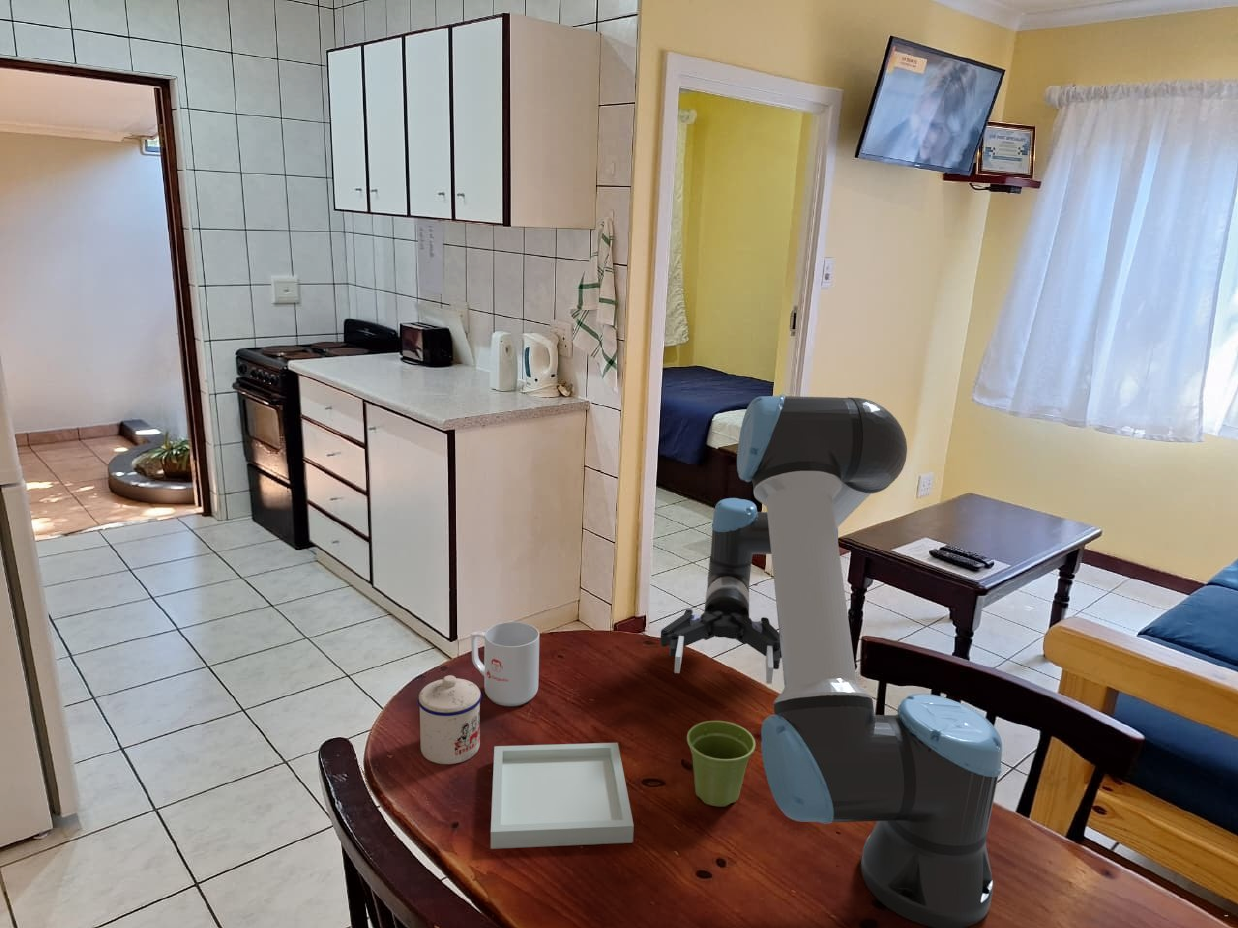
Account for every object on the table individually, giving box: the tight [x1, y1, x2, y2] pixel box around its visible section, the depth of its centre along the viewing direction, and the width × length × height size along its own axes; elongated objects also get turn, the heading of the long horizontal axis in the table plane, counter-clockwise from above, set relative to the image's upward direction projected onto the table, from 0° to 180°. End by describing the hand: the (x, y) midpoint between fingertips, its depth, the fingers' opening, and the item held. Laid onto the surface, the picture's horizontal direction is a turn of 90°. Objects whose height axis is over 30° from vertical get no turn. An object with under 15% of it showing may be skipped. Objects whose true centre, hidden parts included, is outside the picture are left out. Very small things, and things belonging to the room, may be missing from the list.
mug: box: [470, 621, 540, 707], centre depth 140 cm, size 12×9×11 cm
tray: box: [490, 742, 635, 850], centre depth 116 cm, size 18×18×2 cm
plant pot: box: [686, 720, 756, 808], centre depth 118 cm, size 9×9×9 cm
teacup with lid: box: [417, 674, 482, 765], centre depth 126 cm, size 12×9×12 cm
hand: (723, 670), depth 125 cm, fingers open, 13 cm apart
